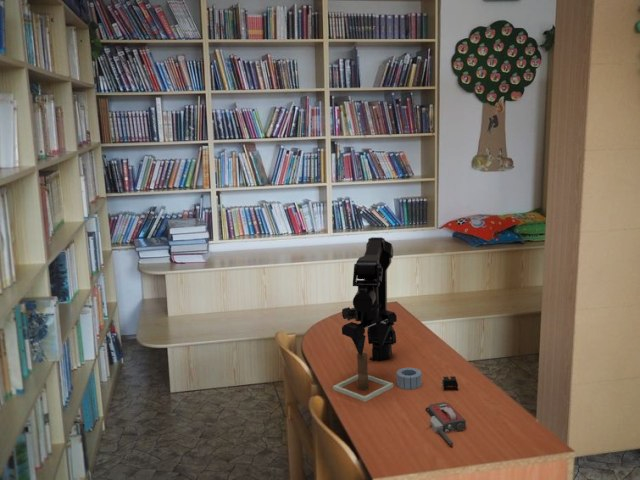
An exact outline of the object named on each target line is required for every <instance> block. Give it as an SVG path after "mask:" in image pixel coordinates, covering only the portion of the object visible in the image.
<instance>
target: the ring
mask: <svg viewBox="0 0 640 480" xmlns="http://www.w3.org/2000/svg"><path fill="white" fill-rule="evenodd" d="M422 375H423V374H422V371H421V370H420V369H418V368H414V367H403V368H399V369H398V370H397V371H396V386H397V387H398V388H400V389H403V390H416V389H419V388H421V387H422V385H423V383H422V381H423V380H422V379H423V378H422V377H423V376H422Z"/></svg>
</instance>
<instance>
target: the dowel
mask: <svg viewBox="0 0 640 480" xmlns="http://www.w3.org/2000/svg"><path fill="white" fill-rule="evenodd" d="M356 359H357V374H358V380H357V381H358V382H357V384H358V390H360V391H367V390H369V380H368V375H369V371H368V353H366V352H363V353H362V355H359V354H358V353H357V354H356Z"/></svg>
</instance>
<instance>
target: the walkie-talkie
mask: <svg viewBox="0 0 640 480" xmlns="http://www.w3.org/2000/svg"><path fill="white" fill-rule="evenodd" d="M425 412H427V414H428V415H429V416H430V421H429V422H430V423H429V424H430V425H429V427H430V428H431V429H432V431H434V434H438V433H439V435H441V437H442V438H443V439H444V440H445V441H446V442H447V443H448V444H449V446H450V445H451V446H453V445H454V441H452V440H451V438H450V437H449V436H448V434H449V432H454V431H459V432H462V431H463V430H466V429H467V426H466V425H467V424H466V423H467V422H466V419H465V418H464V417H463V416H462V415H461V414H460V413H459V412H458V411H457V410H456V408H454V407H453V406H452V405H451V404H450V403H449V402H446V401H443V402H437V403H431V404H429V405H428V407H425Z"/></svg>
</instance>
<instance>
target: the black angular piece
mask: <svg viewBox="0 0 640 480" xmlns="http://www.w3.org/2000/svg"><path fill="white" fill-rule="evenodd" d="M441 386H442V391H443V392H445V391H448V389H447V388H448V387H453V388H455V389H453V388H452V389H453V391H455V390H456V391H458V389H459V388H458V387H459V384H458V380H457V378H456V376H443V377H442V381H441Z"/></svg>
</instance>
